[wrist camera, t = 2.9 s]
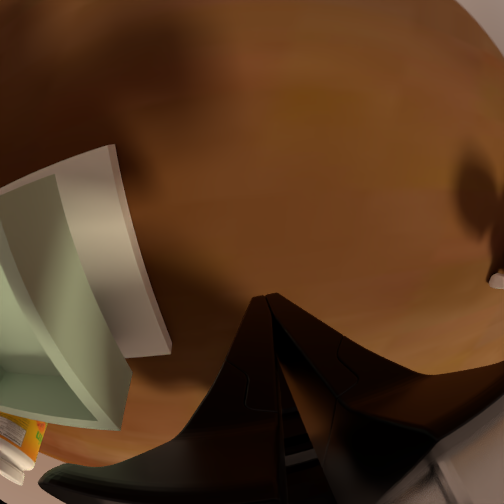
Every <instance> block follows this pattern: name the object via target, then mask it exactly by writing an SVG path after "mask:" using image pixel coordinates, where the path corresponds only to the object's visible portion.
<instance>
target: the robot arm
mask: <svg viewBox="0 0 504 504" xmlns="http://www.w3.org/2000/svg"><path fill="white" fill-rule="evenodd" d="M277 358H278V359H277ZM38 484H39V486H40V487H41V488H42V489H43V490H44V491H46V492H47V493H49V494H50V495H52V496H54V497H55V498H57V499H59V500H61V501H62V502H64V503H66V504H504V361H502V362H499V363H496V364H492V365H488V366H484V367H479V368H474V369H469V370H464V371H458V372H452V373H446V374H439V375H426V374H421V373H417V372H415V371H412V370H410V369H408V368H406V367H403V366H401V365H399V364H397V363H395V362H392V361H390V360H388V359H386V358H384V357H382V356H380V355H378V354H376V353H374V352H372V351H370V350H368V349H366V348H364V347H362V346H360V345H359V344H357V343H355V342H354V341H352V340H350V339H349V338H347V337H346V336H343V335H342V334H341V333H339V332H338V331H336V330H334V329H333V328H331V327H330V326H328V325H327V324H325V323H323V322H322V321H320V320H319V319H317V318H316V317H314V316H313V315H311V314H309V313H308V312H306V311H305V310H303V309H302V308H300V307H299V306H297V305H295V304H294V303H292V302H291V301H289V300H288V299H286V298H285V297H283V296H282V295H280V294H279V293H272V294H267V295H266V296H263V295H262V296H256V297H253V298H252V299H251V301H250V304H249V306H248V308H247V310H246V313H245V315H244V317H243V320H242V322H241V324H240V327H239V329H238V331H237V333H236V336H235V338H234V340H233V343H232V345H231V347H230V349H229V352H228V354H227V356H226V358H225V361H224V363H223V365H222V367H221V369H220V371H219V373H218V375H217V377H216V379H215V381H214V383H213V385H212V386H211V388H210V390H209V391H208V393H207V395H206V396H205V398H204V399H203V401H202V402H201V404H200V405H199V407H198V408H197V410H196V411H195V413H194V414H193V416H192V417H191V419H190V420H189V421H188V423H187V424H186V426H185V427H184V429H183V430H182V431H181V432H180V433H179V434H178V435H177V436H176V437H175V438H174V439H172V440H171V441H169V442H167V443H165V444H163V445H160V446H158V447H156V448H154V449H152V450H149V451H147V452H145V453H142V454H140V455H138V456H135V457H133V458H130V459H128V460H125V461H123V462H120V463H117V464H114V465H110V466H104V467H87V466H82V465H77V464H70V463H66V464H62V465H60V466H57V467H55V468H53V469H51V470H49V471H47V472H46V473H45V474H44V475H43V476H42V477H41V478H40V480H39V481H38ZM0 504H7V503H5V502H3V501H2V500H0Z"/></svg>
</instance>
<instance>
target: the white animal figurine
mask: <svg viewBox="0 0 504 504" xmlns="http://www.w3.org/2000/svg"><path fill="white" fill-rule="evenodd" d="M489 285H490V287H492V288H496V289H504V274H501V273H496V274H493V275H492V276H491V278H490V281H489Z"/></svg>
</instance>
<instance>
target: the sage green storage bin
mask: <svg viewBox="0 0 504 504" xmlns="http://www.w3.org/2000/svg"><path fill="white" fill-rule="evenodd" d="M132 373H133V372H132V370H131V369H130V367H129V365H128V363H127V362H126V360H125V358H124V356H123V354H122V353H121V351H120V349H119V347H118V345H117V343H116V341H115V339H114V337H113V335H112V333H111V331H110V329H109V327H108V325H107V323H106V321H105V319H104V317H103V315H102V313H101V310H100V308H99V306H98V304H97V302H96V299H95V297H94V295H93V292H92V290H91V288H90V285H89V283H88V280H87V278H86V275H85V273H84V270H83V267H82V265H81V262H80V259H79V256H78V254H77V251H76V248H75V245H74V242H73V239H72V236H71V233H70V229H69V226H68V223H67V220H66V216H65V213H64V209H63V205H62V202H61V198H60V194H59V190H58V186H57V181H56V177H55V174H52V175H50V176H47V177H44V178H41V179H39V180H36V181H34V182H31V183H28V184H26V185H23V186H21V187H19V188H16V189H14V190H12V191H9V192H7V193H5V194H2V195H0V411H1V412H4V413H8V414H12V415H15V416H19V417H24V418H28V419H32V420H37V421H42V422H47V423H53V424H59V425H66V426H73V427H81V428H90V429H101V430H116V431H120V430H121V425H122V420H123V415H124V410H125V405H126V400H127V395H128V391H129V386H130V382H131V378H132Z"/></svg>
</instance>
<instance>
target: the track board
mask: <svg viewBox="0 0 504 504" xmlns="http://www.w3.org/2000/svg"><path fill="white" fill-rule="evenodd" d="M52 174H55V177H56V181H57V186H58V190H59V194H60V198H61V202H62V205H63V209H64V213H65V216H66V220H67V223H68V226H69V229H70V233H71V236H72V239H73V242H74V245H75V248H76V251H77V254H78V256H79V259H80V262H81V265H82V267H83V270H84V273H85V275H86V278H87V280H88V283H89V285H90V288H91V290H92V292H93V295H94V297H95V299H96V302H97V304H98V306H99V308H100V310H101V313H102V315H103V317H104V319H105V321H106V323H107V325H108V327H109V329H110V331H111V333H112V335H113V337H114V339H115V341H116V343H117V345H118V347H119V349H120V351H121V353H122V354H123V356H124V358H134V357H146V356H157V355H167V354H171V350H172V341H171V339H170V336H169V333H168V331H167V328H166V326H165V323H164V320H163V318H162V315H161V312H160V310H159V307H158V304H157V301H156V298H155V296H154V293H153V290H152V287H151V284H150V281H149V278H148V275H147V272H146V268H145V265H144V262H143V259H142V255H141V252H140V249H139V245H138V242H137V238H136V235H135V231H134V227H133V224H132V220H131V216H130V212H129V208H128V204H127V200H126V196H125V191H124V187H123V183H122V178H121V173H120V168H119V163H118V158H117V153H116V148H115V144H112V145H106V146H103V147H100V148H97V149H94V150H91V151H88V152H85V153H82V154H79V155H76V156H74V157H71V158H68V159H66V160H63V161H60V162H58V163H55V164H53V165H50V166H48V167H45V168H43V169H41V170H38V171H36V172H34V173H31V174H29V175H27V176H25V177H23V178H20V179H18V180H16V181H14V182H12V183H10V184H8V185H6V186H4V187H2V188H0V195H2V194H5V193H7V192H9V191H12V190H14V189H16V188H19V187H21V186H23V185H26V184H28V183H31V182H34V181H36V180H39V179H41V178H44V177H47V176H50V175H52Z"/></svg>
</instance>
